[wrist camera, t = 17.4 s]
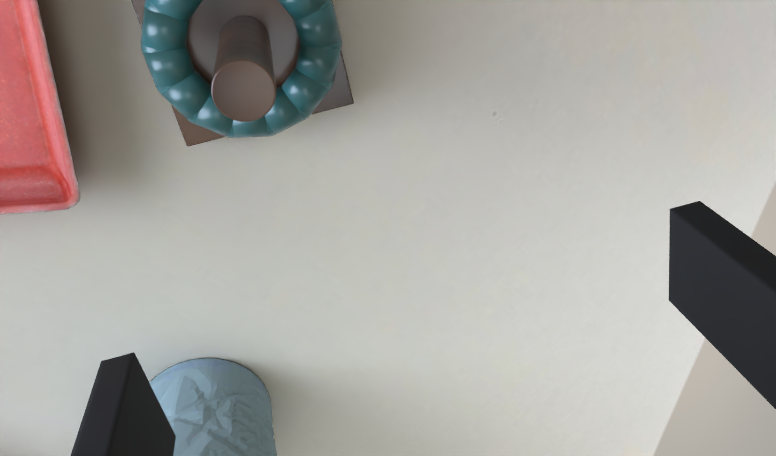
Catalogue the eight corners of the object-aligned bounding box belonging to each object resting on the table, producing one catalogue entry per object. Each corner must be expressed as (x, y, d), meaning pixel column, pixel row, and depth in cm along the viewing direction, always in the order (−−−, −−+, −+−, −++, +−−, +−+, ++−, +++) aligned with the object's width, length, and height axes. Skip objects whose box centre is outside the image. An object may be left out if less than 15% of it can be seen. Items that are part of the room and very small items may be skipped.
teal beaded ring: (310, -85, 31) (314, -83, 29) (355, 106, 35) (361, 118, 34) (113, -38, 30) (105, -33, 28) (185, 150, 35) (181, 164, 33)
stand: (308, -81, 32) (331, -65, 23) (350, 95, 36) (384, 168, 27) (123, -37, 32) (72, -2, 22) (189, 137, 36) (169, 225, 27)
